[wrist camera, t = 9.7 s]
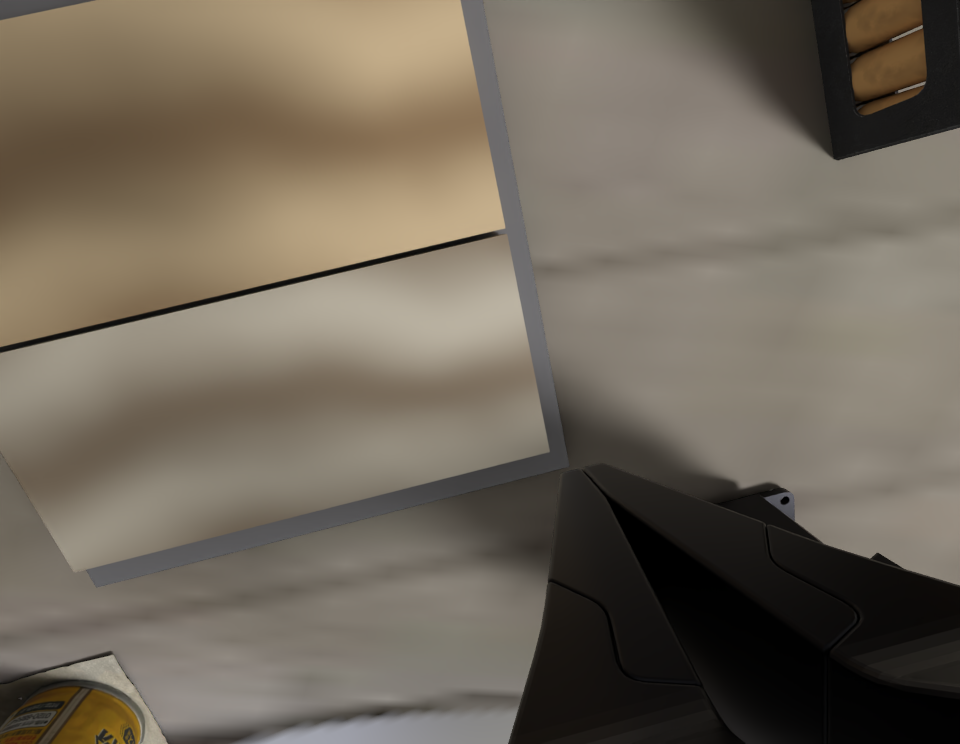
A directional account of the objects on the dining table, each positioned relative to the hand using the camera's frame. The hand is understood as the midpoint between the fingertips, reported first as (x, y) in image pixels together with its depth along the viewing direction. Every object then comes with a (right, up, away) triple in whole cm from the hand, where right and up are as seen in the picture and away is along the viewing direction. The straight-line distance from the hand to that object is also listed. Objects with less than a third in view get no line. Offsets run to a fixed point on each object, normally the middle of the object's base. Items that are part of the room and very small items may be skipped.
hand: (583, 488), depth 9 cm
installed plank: (-12, +10, +7) cm, 17 cm away
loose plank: (-10, +1, +10) cm, 14 cm away
